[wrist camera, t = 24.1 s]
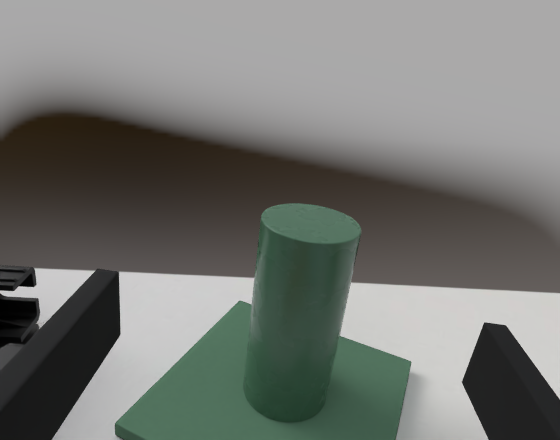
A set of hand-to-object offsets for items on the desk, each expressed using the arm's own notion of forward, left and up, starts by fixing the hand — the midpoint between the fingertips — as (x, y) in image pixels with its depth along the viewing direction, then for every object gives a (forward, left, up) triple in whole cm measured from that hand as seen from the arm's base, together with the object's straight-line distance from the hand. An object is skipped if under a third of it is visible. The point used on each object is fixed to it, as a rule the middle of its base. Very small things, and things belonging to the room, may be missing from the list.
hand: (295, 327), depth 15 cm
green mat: (-3, +10, -14) cm, 18 cm away
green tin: (-3, +10, -13) cm, 17 cm away
